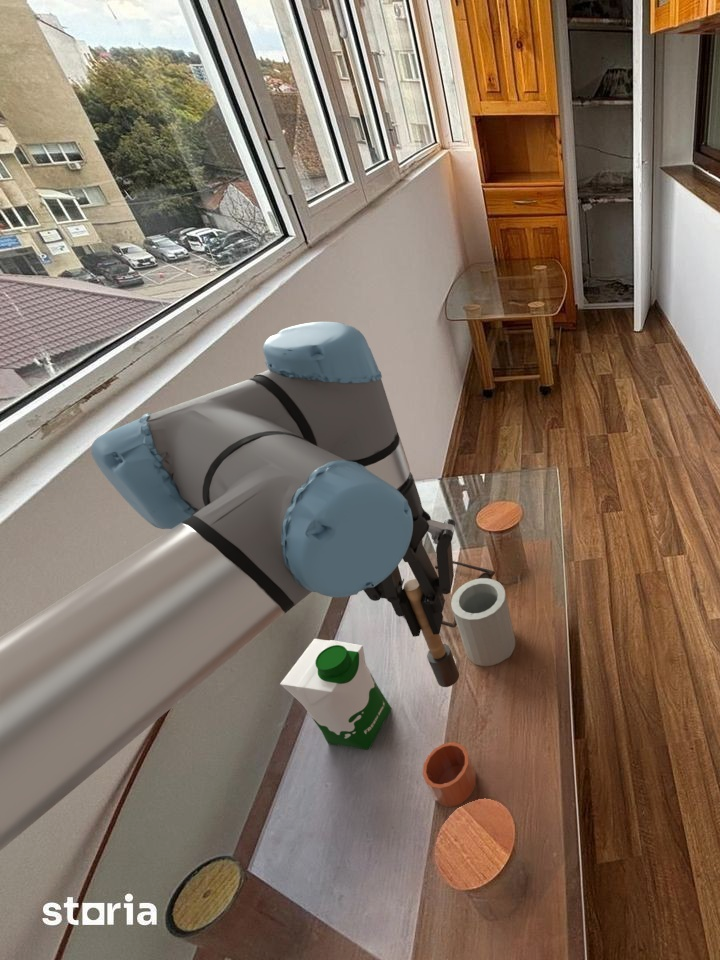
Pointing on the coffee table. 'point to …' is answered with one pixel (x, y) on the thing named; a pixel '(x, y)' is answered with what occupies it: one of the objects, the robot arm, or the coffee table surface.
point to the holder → (449, 774)
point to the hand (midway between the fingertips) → (428, 626)
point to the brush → (432, 640)
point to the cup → (484, 621)
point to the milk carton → (339, 693)
